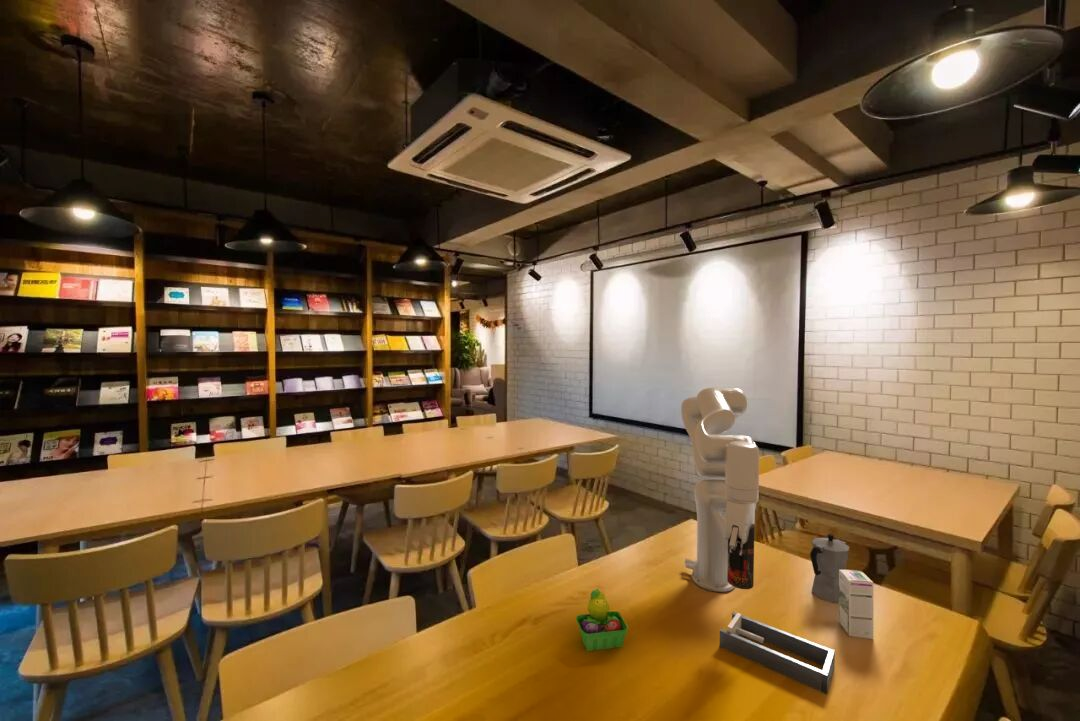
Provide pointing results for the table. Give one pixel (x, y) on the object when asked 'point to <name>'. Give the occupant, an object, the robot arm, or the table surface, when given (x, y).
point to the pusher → (736, 629)
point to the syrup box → (856, 603)
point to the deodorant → (747, 575)
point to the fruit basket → (601, 624)
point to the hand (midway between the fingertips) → (740, 562)
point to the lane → (780, 661)
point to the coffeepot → (828, 566)
